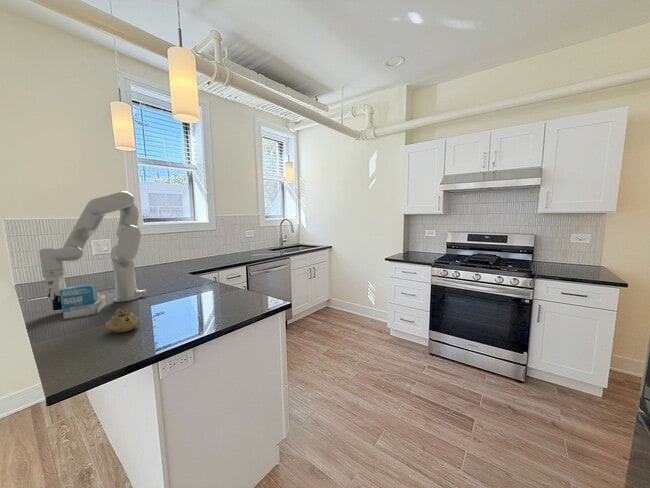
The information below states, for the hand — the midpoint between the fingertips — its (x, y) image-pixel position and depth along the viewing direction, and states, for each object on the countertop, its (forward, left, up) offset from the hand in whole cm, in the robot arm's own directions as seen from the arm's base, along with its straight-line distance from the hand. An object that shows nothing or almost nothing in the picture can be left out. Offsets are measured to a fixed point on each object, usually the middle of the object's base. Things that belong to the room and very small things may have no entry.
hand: (58, 309), depth 132 cm
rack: (-12, +4, -2) cm, 12 cm away
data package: (-8, 0, -2) cm, 8 cm away
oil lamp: (-33, +46, -2) cm, 56 cm away
